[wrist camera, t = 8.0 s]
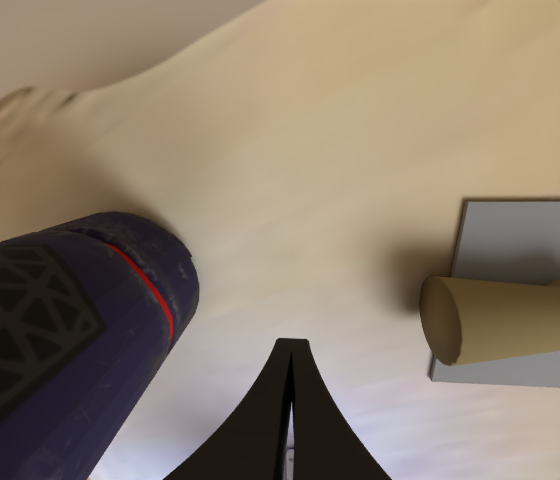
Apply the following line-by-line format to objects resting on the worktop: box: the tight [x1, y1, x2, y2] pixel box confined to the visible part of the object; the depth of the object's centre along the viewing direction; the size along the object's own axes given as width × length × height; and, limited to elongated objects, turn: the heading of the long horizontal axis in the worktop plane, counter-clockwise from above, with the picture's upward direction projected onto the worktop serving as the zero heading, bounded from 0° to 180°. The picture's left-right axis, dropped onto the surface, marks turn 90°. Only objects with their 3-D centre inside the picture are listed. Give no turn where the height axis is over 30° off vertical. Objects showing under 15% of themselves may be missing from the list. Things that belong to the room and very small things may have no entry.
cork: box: [419, 276, 560, 367], centre depth 18 cm, size 6×6×11 cm
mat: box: [430, 201, 560, 388], centre depth 21 cm, size 16×12×1 cm
